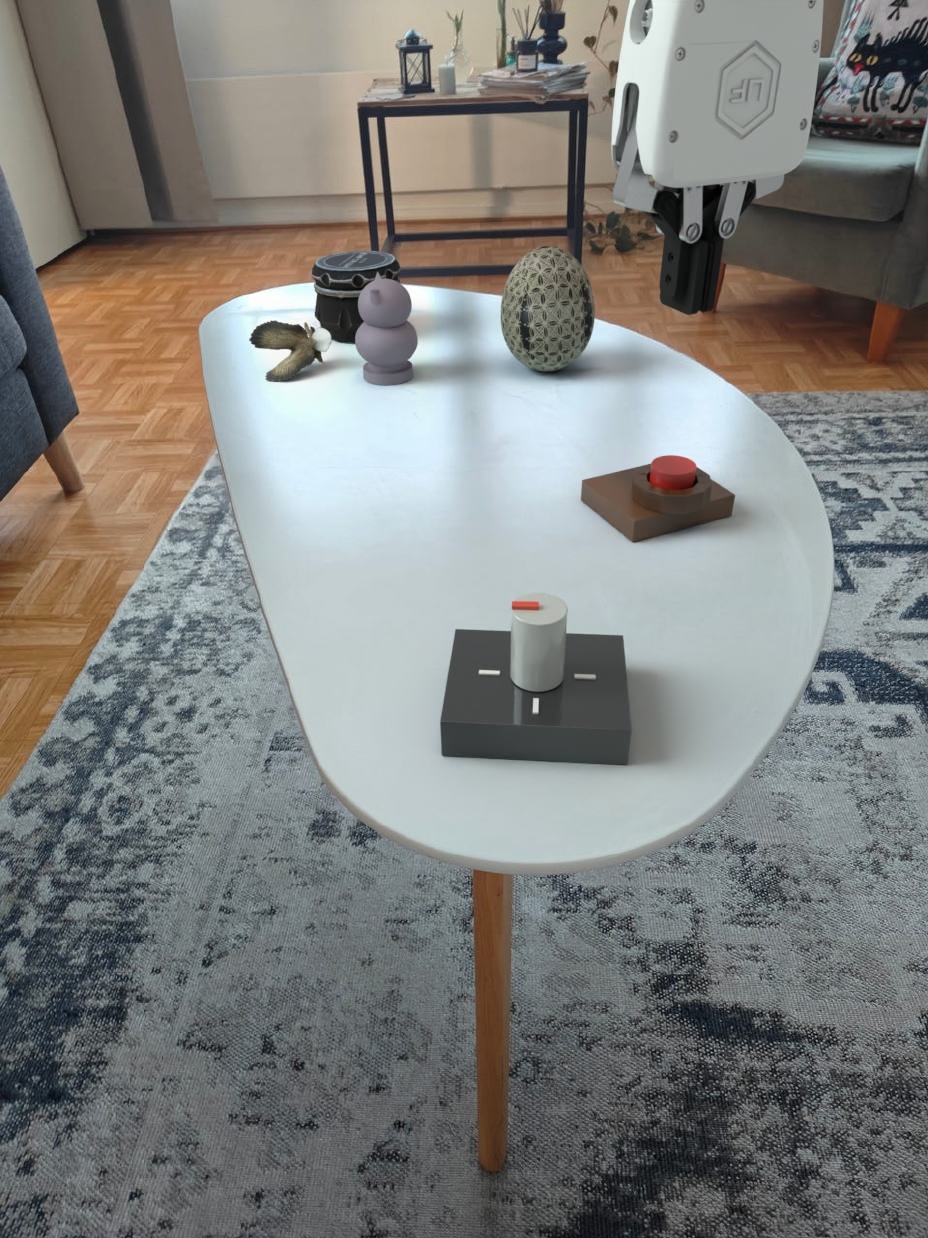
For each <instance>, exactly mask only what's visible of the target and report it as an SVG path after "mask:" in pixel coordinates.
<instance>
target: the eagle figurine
mask: <svg viewBox="0 0 928 1238" xmlns="http://www.w3.org/2000/svg"><path fill="white" fill-rule="evenodd" d="M248 341H249V342H250V344H251V345H253V346H254V348H255V349H262V350H273V351H274V350H275V351H279V350H289V351H290V353H289V354H288V356H287V357H285V358H284V359H283V360H281V361H280V362H279V363H278V364H277V365H276V366H275V367H274V368H273V367H272V369H270V370H268V371H267V372H265V375H264V377H265V380H266V381H268V382H271V381H272V382H277V381H278V382H281V381H286V380H287V381H288V380H289V379H291V378H293V377H294V376H297V373H299V372H300V371H301V370H303V369H304V368H306V367H309V366H312V364H313V363H314V362H315V361H316V360H317V362H318V363H321V364H323V363H324V360H323V357H322V353H327V351H328V350H329V348H330V346H331V344H332V338H331V335H330V332H328V331H327V330H326V329H324V328H321V326H320V327H317V328H315V327H314V326H309V324H308V323H307V322H306V321H304V323H303V326H302V325H300V323H296V324H290V323H288V322H282V321H278V320H269V321H266V322H263V323H260V324H259V325H257V326H255V328H254V329H253V330H252V332H251V333H250V337H249V339H248Z"/></svg>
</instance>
